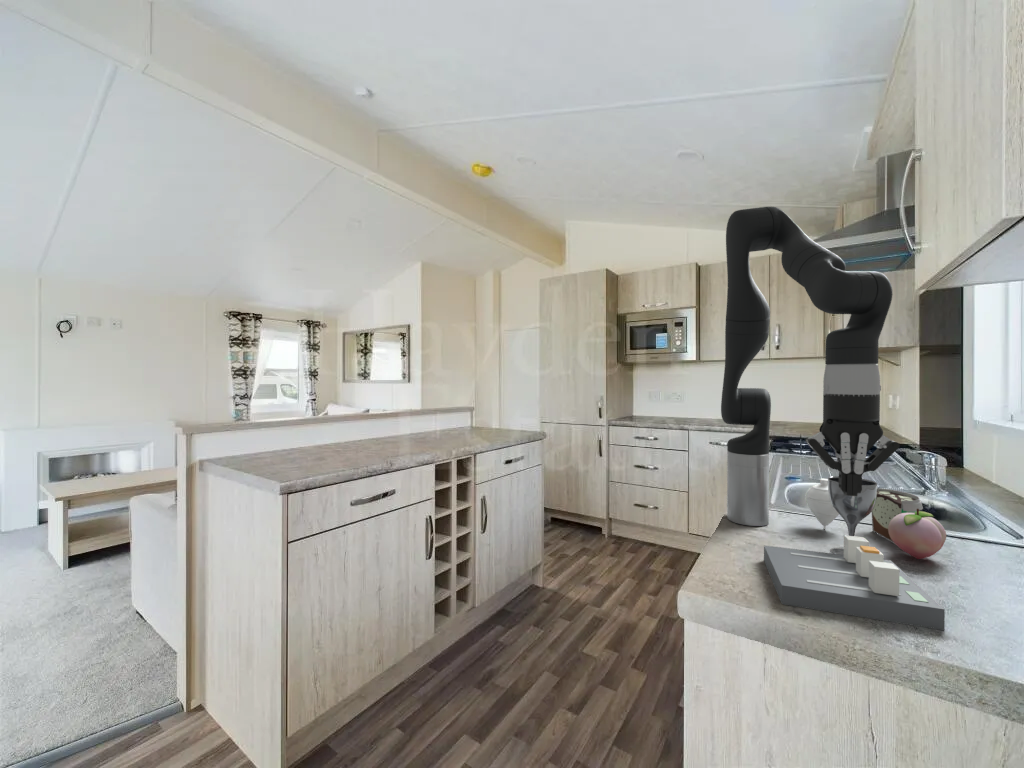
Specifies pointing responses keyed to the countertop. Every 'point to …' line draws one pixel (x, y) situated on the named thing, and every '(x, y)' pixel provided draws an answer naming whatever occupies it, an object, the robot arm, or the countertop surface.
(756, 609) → the countertop surface
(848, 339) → the robot arm
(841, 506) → the wine glass
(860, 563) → the block
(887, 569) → the breaker
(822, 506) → the spinning top
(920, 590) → the grey flat slab
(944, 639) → the countertop surface
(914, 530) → the decorative fruit
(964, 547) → the countertop surface
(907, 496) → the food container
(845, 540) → the block
